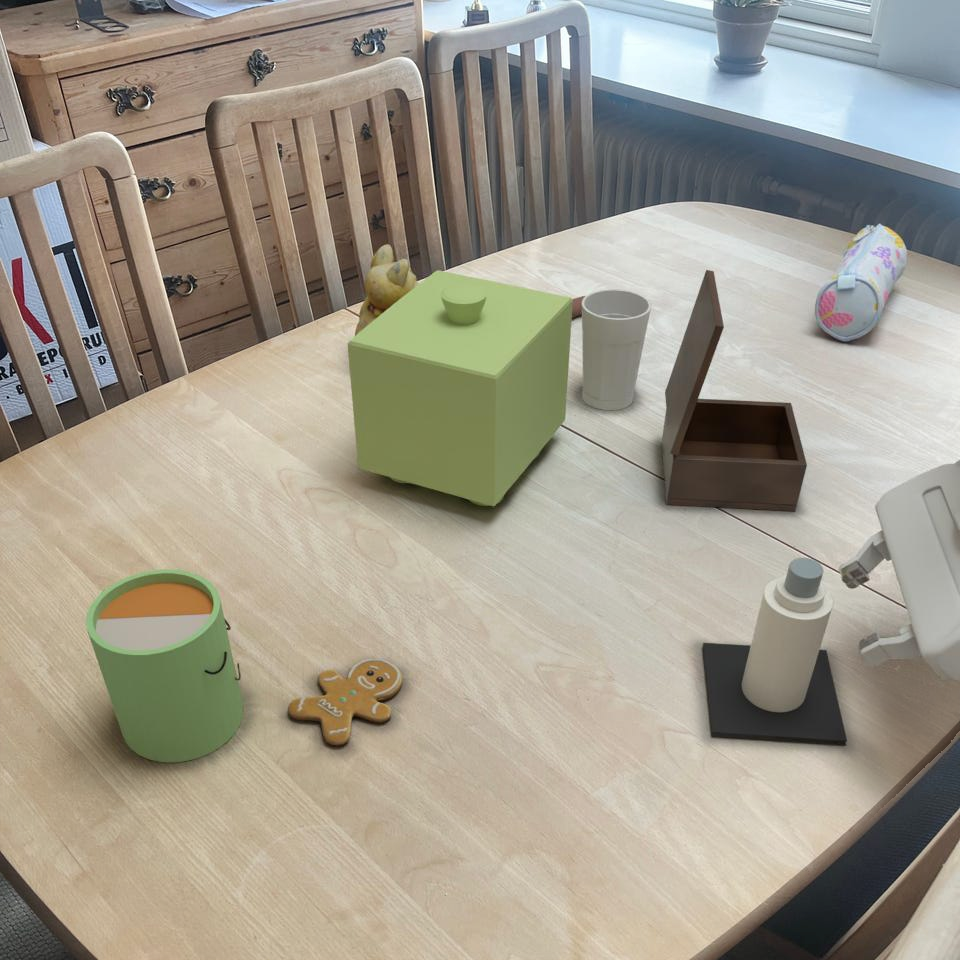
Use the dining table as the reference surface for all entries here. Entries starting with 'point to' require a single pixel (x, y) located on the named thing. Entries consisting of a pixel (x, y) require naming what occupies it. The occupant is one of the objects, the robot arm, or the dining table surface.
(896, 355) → the dining table surface
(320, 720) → the cookie
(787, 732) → the mat
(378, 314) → the decorative figurine
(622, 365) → the cup
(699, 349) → the chest lid
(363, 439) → the container
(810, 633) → the bottle
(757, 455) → the chest
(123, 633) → the mug
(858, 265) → the pencil case
